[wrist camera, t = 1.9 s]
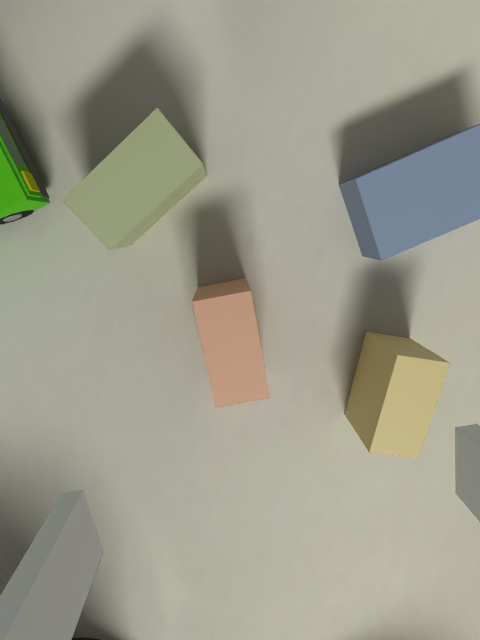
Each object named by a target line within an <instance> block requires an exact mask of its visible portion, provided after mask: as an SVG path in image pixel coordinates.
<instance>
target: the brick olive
mask: <svg viewBox="0 0 480 640" xmlns="http://www.w3.org/2000/svg"><path fill="white" fill-rule="evenodd" d="M206 176H207V174H206V171H205V168H204V165H203V163H202V162H201V161H200V159H199V158H198V157H197V156H196V155H195V153H194V152H193V151H192V150H191V148H190V147H189V146H188V145H187V143H186V142H185V141H184V140H183V139H182V137H181V136H180V135H179V134H178V132H177V131H176V130H175V129H174V127H173V126H172V125H171V124H170V123H169V121H168V120H167V119H166V118H165V116H164V115H163V114H162V113H161V111H160V110H159V109H158V108H156V109H155V110H154V111H153V112H152V113H151V114H150V115H149V116H148V117H147V118H146V119H145V120H144V121H143V122H142V123H141V124H140V125H139V126H138V127H137V128H136V129H135V130H133V131H132V132H131V133H130V134H129V135H128V136H127V137H126V138H125V139H124V140H123V141H122V142H121V143H120V144H119V145H118V146H117V147H116V148H115V149H114V150H113V151H112V152H111V153H110V154H109V155H108V156H107V157H106V158H105V159H104V160H103V161H102V162H101V163H100V164H98V165H97V166H96V167H95V168H94V169H93V170H92V171H91V172H90V173H89V174H88V175H87V176H86V177H85V178H84V179H83V180H82V181H81V182H80V183H79V184H78V185H77V186H76V187H75V188H74V189H73V190H72V191H71V192H70V193H69V194H68V195H67V196H66V197H64V198H63V199H62V201H63V202H64V203H65V204H66V205H67V206H68V207H69V208H70V209H71V210H72V211H73V212H74V213H75V214H76V216H77V217H78V218H79V219H80V220H81V221H82V222H83V223H84V224H85V225H86V226H87V227H88V228H89V229H90V230H91V231H92V233H93V234H94V235H95V236H96V237H97V238H98V239H99V240H100V241H101V242H102V243H103V244H104V245H105V246H106V247H107V248H108V250H112V249H117V248H121V247H125V246H129V245H132V244H133V243H134V242H135V241H136V240H137V239H139V238H140V237H141V236H142V235H143V234H144V233H145V232H146V231H147V230H148V229H149V228H151V227H152V226H153V225H154V224H155V223H156V222H157V221H158V220H159V219H160V218H161V217H163V216H164V215H165V214H166V213H167V212H168V211H169V210H170V209H171V208H172V207H173V206H175V205H176V204H177V203H178V202H179V201H180V200H181V199H182V198H183V197H184V196H186V195H187V194H188V193H189V192H190V191H191V190H192V189H193V188H194V187H195V186H196V185H198V184H199V183H200V182H201V181H202V180H203V179H204V178H205V177H206Z"/></svg>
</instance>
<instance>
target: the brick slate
mask: <svg viewBox="0 0 480 640" xmlns="http://www.w3.org/2000/svg"><path fill="white" fill-rule="evenodd" d="M339 187H340V190H341V193H342V196H343V199H344V202H345V205H346V208H347V211H348V214H349V217H350V220H351V223H352V226H353V229H354V232H355V235H356V238H357V241H358V244H359V247H360V250H361V253H362V256H364V257H369V258H373V259H377V260H384V259H386V258H388V257H391V256H393V255H395V254H398V253H400V252H403V251H405V250H407V249H410V248H412V247H414V246H417V245H419V244H421V243H424V242H426V241H428V240H431V239H433V238H436V237H438V236H440V235H443V234H445V233H447V232H450V231H452V230H454V229H457V228H459V227H462V226H464V225H466V224H469V223H471V222H473V221H476V220H478V219H480V124H478V125H476V126H473V127H470V128H468V129H465V130H463V131H460V132H458V133H456V134H453V135H451V136H449V137H447V138H444V139H442V140H440V141H437V142H435V143H433V144H431V145H428V146H426V147H424V148H421V149H419V150H417V151H415V152H412V153H410V154H408V155H406V156H403V157H401V158H399V159H396V160H394V161H392V162H390V163H387V164H385V165H383V166H381V167H378V168H376V169H374V170H371V171H369V172H367V173H365V174H362V175H360V176H358V177H355V178H353V179H351V180H349V181H346V182H344V183H342V184H340V185H339Z"/></svg>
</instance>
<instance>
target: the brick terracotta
mask: <svg viewBox="0 0 480 640" xmlns="http://www.w3.org/2000/svg"><path fill="white" fill-rule="evenodd" d="M192 303H193V308H194V312H195V317H196V321H197V326H198V330H199V335H200V339H201V344H202V348H203V353H204V357H205V362H206V366H207V371H208V375H209V380H210V384H211V389H212V394H213V398H214V403H215V407H216V408H218V407H224V406H229V405H234V404H240V403H245V402H250V401H256V400H261V399H266V398H270V395H269V389H268V384H267V378H266V372H265V367H264V361H263V355H262V350H261V344H260V338H259V333H258V327H257V322H256V316H255V310H254V305H253V299H252V293H251V289H250V287H249V285H248V282H247V280H246V278H242V279H237V280H232V281H227V282H221V283H216V284H211V285H205V286H200V287H198V288H197V291H196V293H195V296H194V298H193V301H192Z"/></svg>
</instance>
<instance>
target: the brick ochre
mask: <svg viewBox="0 0 480 640" xmlns="http://www.w3.org/2000/svg"><path fill="white" fill-rule="evenodd" d="M449 365H450V363H449V362H448V361H446V360H444V359H443V358H441V357H440V356H438V355H436V354H435V353H433V352H431V351H430V350H428V349H426V348H425V347H423V346H422V345H420V344H418V343H417V342H415V341H413V340H412V339H410V338H405V337H398V336H392V335H386V334H379V333H373V332H366V334H365V338H364V342H363V346H362V349H361V353H360V357H359V361H358V365H357V368H356V372H355V376H354V380H353V383H352V387H351V391H350V395H349V399H348V402H347V406H346V410H345V415H346V417H347V419H348V420H349V422H350V423H351V425H352V426H353V428H354V429H355V431H356V433H357V434H358V436H359V437H360V439H361V440H362V442H363V443H364V445H365V447H366V448H367V450H368V451H369V452H370V453H378V454H386V455H394V456H402V457H410V458H419V455H420V452H421V449H422V446H423V443H424V440H425V437H426V434H427V431H428V428H429V425H430V422H431V419H432V416H433V413H434V410H435V407H436V404H437V401H438V398H439V395H440V392H441V389H442V386H443V383H444V380H445V377H446V374H447V371H448V368H449Z"/></svg>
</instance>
